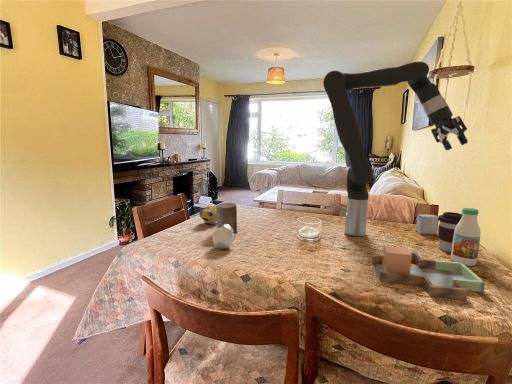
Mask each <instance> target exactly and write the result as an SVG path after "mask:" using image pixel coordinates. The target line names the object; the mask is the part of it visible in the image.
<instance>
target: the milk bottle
mask: <svg viewBox="0 0 512 384" xmlns="http://www.w3.org/2000/svg"><path fill="white" fill-rule="evenodd" d="M461 212H462V213H461V214H462V218H461V220H460V221H459V223H458V224H457V226H456V228H455V231H454V236H453V243H452V251H451V252H450V260H451V262H461V263H463V264H464V265H465V266H466V267H473V266H476V265H477V263H478V258H479V250H480V243H481V236H482V235H481V228H480V225H479V223H478V216H479V210H478V209H477V208H472V207H463V208H462V210H461Z"/></svg>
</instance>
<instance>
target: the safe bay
mask: <svg viewBox="0 0 512 384" xmlns="http://www.w3.org/2000/svg"><path fill="white" fill-rule="evenodd" d="M435 261H436V267H435V270H446V271H457V272H460V273H461V274H462V275H463V276H464V277H465V278H466V279H467V280H466V279H456V278H452V283H451V287H453V280H458V281H459V282H460V283H461V284H462V285H463V286H464V287H465V288H466V289H467V290H469V291H468V292H476V291H478V292H483V294H484V292H485V286H486V282H485V281H484V280H482V278H480V277H479V276H478V275H477V274H475V272H473V270H471V269H470V268H469V267H468V266H466V265H464V264H463V263H461V262H453V261H450V260H449V261H448V260H437V259H435Z"/></svg>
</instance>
